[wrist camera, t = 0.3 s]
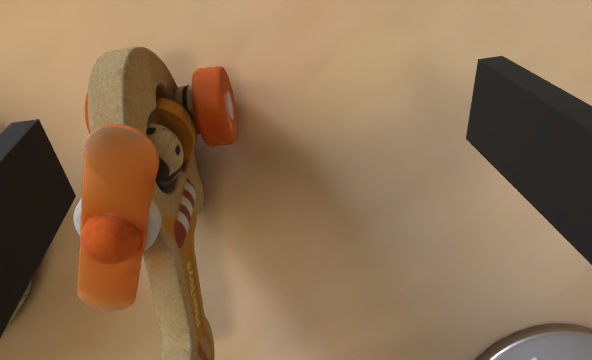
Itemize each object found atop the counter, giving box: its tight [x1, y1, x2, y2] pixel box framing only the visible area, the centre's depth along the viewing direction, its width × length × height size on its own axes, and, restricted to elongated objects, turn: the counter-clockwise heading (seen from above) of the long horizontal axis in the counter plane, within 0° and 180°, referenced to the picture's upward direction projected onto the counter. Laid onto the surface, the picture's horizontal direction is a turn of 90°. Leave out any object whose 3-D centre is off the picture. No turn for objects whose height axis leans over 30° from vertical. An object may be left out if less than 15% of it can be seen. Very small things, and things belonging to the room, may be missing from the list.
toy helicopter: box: [73, 47, 237, 360], centre depth 23 cm, size 8×21×14 cm, turn 7°
